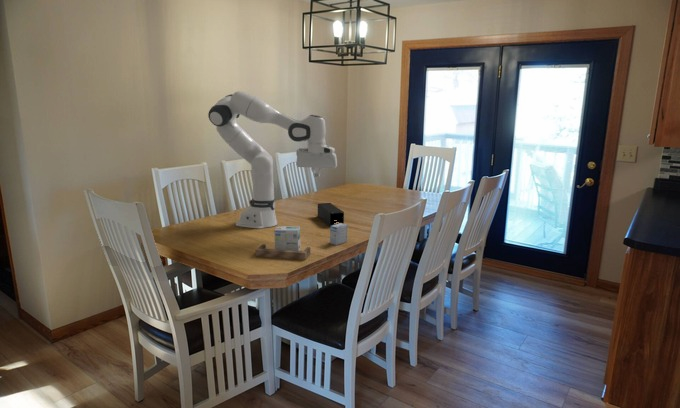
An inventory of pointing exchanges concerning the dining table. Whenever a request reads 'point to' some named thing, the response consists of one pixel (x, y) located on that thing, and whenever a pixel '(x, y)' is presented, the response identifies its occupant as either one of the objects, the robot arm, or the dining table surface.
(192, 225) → the dining table surface
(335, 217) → the long black box
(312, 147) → the robot arm
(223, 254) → the dining table surface
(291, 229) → the light bulb box
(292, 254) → the walnut corral
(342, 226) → the medicine box
